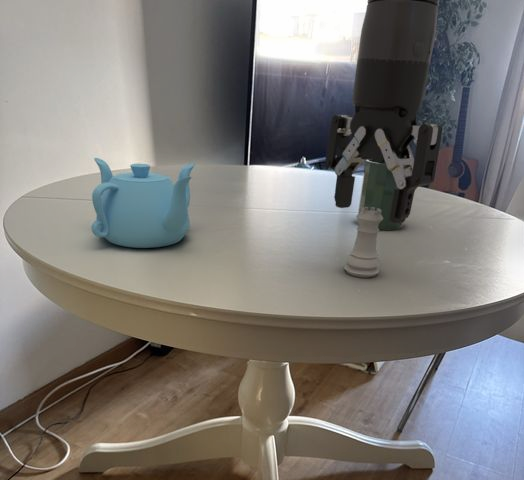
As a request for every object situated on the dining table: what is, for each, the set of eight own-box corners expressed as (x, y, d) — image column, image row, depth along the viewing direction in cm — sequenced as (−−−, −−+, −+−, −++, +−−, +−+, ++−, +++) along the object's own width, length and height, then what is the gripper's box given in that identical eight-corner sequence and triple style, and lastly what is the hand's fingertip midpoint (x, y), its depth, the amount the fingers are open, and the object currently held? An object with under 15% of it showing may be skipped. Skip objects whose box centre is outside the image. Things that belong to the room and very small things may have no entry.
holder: (376, 217, 90) (386, 157, 85) (411, 227, 85) (424, 164, 80) (347, 221, 86) (356, 159, 81) (382, 232, 80) (394, 166, 75)
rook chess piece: (384, 272, 62) (395, 209, 58) (370, 281, 59) (381, 215, 55) (352, 264, 64) (361, 203, 60) (337, 272, 61) (346, 209, 57)
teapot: (80, 252, 63) (69, 170, 58) (103, 223, 76) (95, 154, 71) (193, 254, 65) (191, 175, 60) (196, 226, 78) (195, 158, 73)
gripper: (474, 61, 48) (436, 224, 55) (365, 61, 57) (346, 200, 65) (430, 54, 43) (396, 231, 51) (320, 55, 53) (305, 204, 61)
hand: (368, 214), depth 58 cm, fingers open, 8 cm apart
